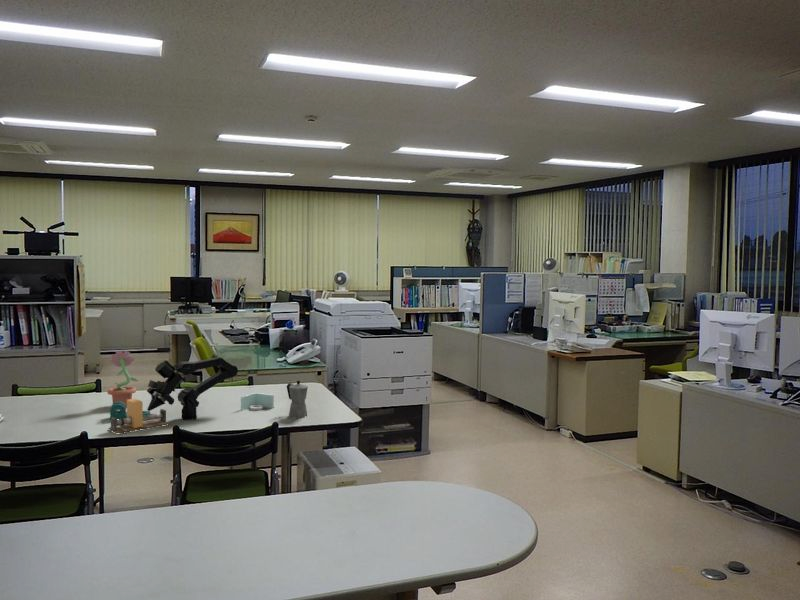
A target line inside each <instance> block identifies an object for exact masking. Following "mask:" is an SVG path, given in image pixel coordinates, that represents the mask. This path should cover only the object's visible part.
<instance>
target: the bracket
mask: <svg viewBox="0 0 800 600" xmlns="http://www.w3.org/2000/svg"><path fill="white" fill-rule="evenodd" d="M148 414H151V411H148V410H143V415H148ZM109 417H110V418H109V420H110V419H111V418H112V417H114V418H116V419H121V418H123V419H124V418H127V407H126V406H125V404H124V403H123V402H119V401H118V402H115V403H113V402H112V404H111V406H110V411H109Z"/></svg>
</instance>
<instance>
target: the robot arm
mask: <svg viewBox="0 0 800 600" xmlns="http://www.w3.org/2000/svg"><path fill="white" fill-rule="evenodd" d="M212 367H218V371H217V372H216V373H215V374H213V375H211V376H210V377H208V378H207V379H205V380H203V381H202V382H200V383H198V384H197V385H194V387H191V386H186V387H185V388H183V389H180V391H179V392H178V393H177V394H178V395H177V401H178V402H179V403H180V405H182V408H181V419H183V420H182V421H186V420H188V421H189V420H197V418H198V414H197V413H198V412H197V411H198V409H197V408H198V407H199V405H200V401H198V400H197V399H198V398H199V397H200V395H201V394H203V393H205V392H206V391H208V390H209V389H211V388H212V387H214V386H215V385H216V386H217V384H219V383H220V382H222V381H225V380H228V379H231V378H234V377H235V376H237V374H238V372H239V371H238V367H237V365H234V364H231V363H229V362H228V361H226V360H225V359H224V358H222V357H220V356H216V357H211V358H207V359H201V360H196V361H180V362H178V363H177V364H174V365H172V364H171V363H170V362H169V361H168V360H166V359H165V360H164V361H162V362H160V363H159V364H157V365H156V367H155V369H154V370H155V371H156V373H158V375H159V376H160V377H162V378H163V379H166V380H165V381H161V380H157V381H155V380H151V379H149V383H148V385H147V387H148V389H147V390H146V392H147V393H148V394H149V395H150V396H151V400H150V402H149V404H148V407H147V410H146V411H150V412H151V411H152V410H154V409H156V408H159V407H160V406H163V405H166V402H167V403H168V404H169V405H170V406H173V404H174V403H175V398H173V396H172V395H171V394H172V393H173V392H176V388H177V387H178V386H179V384H180V383H181V382H182V383H186V382H187V380H186V379H187V378H186V376H188V375H191V374H193V373H195V372H197V371H198V370H204V369H208V368H212Z"/></svg>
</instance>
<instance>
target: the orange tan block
mask: <svg viewBox="0 0 800 600" xmlns="http://www.w3.org/2000/svg"><path fill="white" fill-rule="evenodd" d="M143 405H144V404H143V401H142V400H139V399H137V398H132V399H129V400H127V407H126V412H127V418H130V417H132V423H131V424H126V425H129V426H131V427H133V428H138V427H143V422H144V421H143V411H144V410H143Z"/></svg>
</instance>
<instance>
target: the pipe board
mask: <svg viewBox="0 0 800 600" xmlns="http://www.w3.org/2000/svg"><path fill="white" fill-rule="evenodd" d="M131 423H132V417H130V418H124V419H123V418H121V419H119V420H117V419H116V418H114V417H112V418H111V421H110V427H108V429H110V430H111V431H113V432H115V433H124V432H129V433H131V432H130V431H135V430H140V429H145V430H148V429H147V428H151V429H153V428H152V427H156V426H161V427H163V426H162V425H167V424H169V425H170V423H169V422H167V410H166V409H164V408H160V410H159V412H155V413H150V414H148V415H143V427H138V428H133V427H131V426H129V425H127V424H131ZM167 426H168V425H167ZM156 428H157V427H156ZM108 429H107V430H108ZM111 431H110V432H111ZM140 431H141V430H140ZM113 432H112V433H113ZM135 432H136V431H135ZM115 433H114V434H115ZM124 434H125V433H124Z"/></svg>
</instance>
